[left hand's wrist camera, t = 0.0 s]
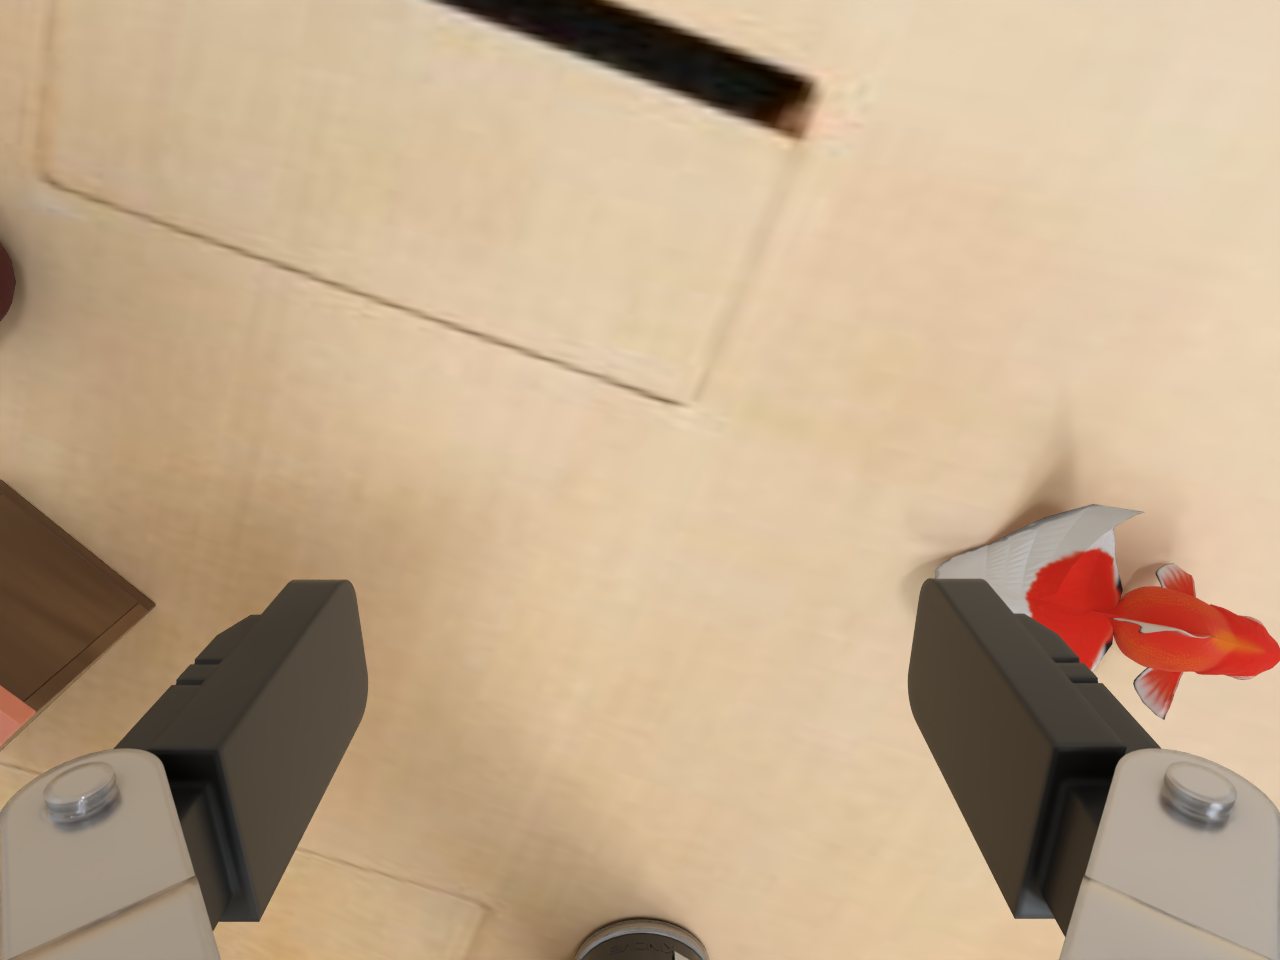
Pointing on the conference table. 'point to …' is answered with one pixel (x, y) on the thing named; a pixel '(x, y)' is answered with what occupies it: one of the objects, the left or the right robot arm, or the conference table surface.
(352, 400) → the conference table surface
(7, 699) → the lid
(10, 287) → the dark red ball
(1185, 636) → the fish
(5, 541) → the chest
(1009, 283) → the conference table surface
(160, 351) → the conference table surface
